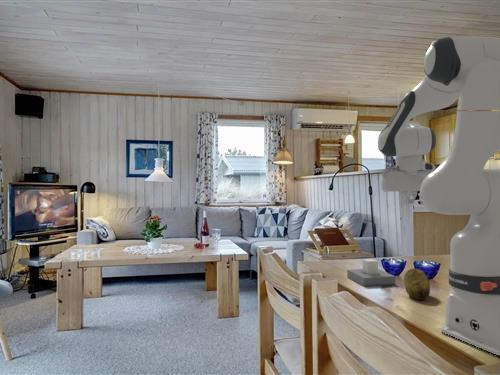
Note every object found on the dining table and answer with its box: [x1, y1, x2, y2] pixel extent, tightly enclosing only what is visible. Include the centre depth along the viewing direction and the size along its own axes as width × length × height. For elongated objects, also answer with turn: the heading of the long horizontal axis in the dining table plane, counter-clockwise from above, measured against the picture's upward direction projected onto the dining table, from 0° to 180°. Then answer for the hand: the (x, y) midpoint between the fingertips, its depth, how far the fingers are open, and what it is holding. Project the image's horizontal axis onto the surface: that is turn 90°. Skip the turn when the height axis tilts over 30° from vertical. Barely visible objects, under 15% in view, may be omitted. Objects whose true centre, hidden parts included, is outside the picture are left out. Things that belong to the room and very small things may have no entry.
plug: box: [362, 258, 379, 275], centre depth 140 cm, size 4×4×7 cm
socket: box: [346, 268, 396, 288], centre depth 140 cm, size 14×12×3 cm
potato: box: [403, 268, 431, 301], centre depth 120 cm, size 8×13×8 cm, turn 150°
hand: (409, 203), depth 137 cm, fingers closed
